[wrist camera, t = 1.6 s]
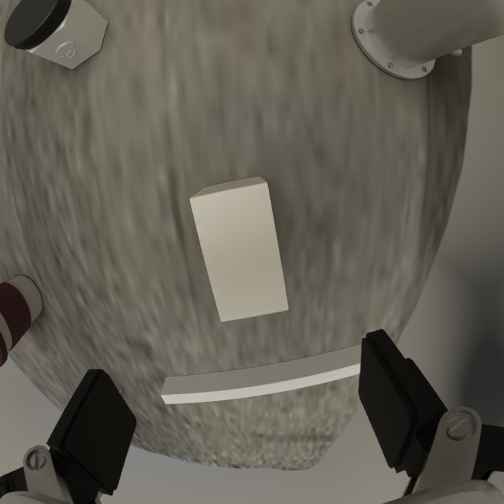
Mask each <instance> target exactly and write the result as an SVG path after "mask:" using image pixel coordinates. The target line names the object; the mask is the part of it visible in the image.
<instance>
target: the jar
mask: <svg viewBox="0 0 504 504" xmlns="http://www.w3.org/2000/svg"><path fill="white" fill-rule="evenodd" d="M107 24H108V21H107V20H106V19H104V18H103V17H102V16H101V15H100V14H99V13H98V12H97V11H96V10H94V9H93V8H92V7H91V6H90V5H89V4H88V3H87V2H85V1H84V0H22V1H21V2H20V3H19V4H18V5H17V7H16V8H15V9H14V11H13V12H12V14H11V16H10V18H9V20H8V22H7V25H6V28H5V34H4V37H5V41H6V43H7V44H8V45H11V46H13V47H15V48H17V49H22V50H27V51H28V52H30V53H33V54H35V55H38V56H40V57H43V58H45V59H48V60H50V61H53V62H55V63H58V64H60V65H62V66H65V67H67V68H69V69H72V70H73V69H74V68H76V67H77V66H78V65H80V64H81V63H82V62H84V61H85V60H87V59H88V58H89V57H91V56H92V55H94V54H95V53H97V52H98V51H100V49H101V45H102V41H103V38H104V34H105V31H106V28H107Z"/></svg>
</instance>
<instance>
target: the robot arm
mask: <svg viewBox="0 0 504 504" xmlns="http://www.w3.org/2000/svg"><path fill="white" fill-rule="evenodd" d="M351 26H352V31H353V35H354V37H355V39H356V41H357V44H358V45H359V47H360V48H361V50H362V51H363V52H364V54H365V55H366V56H367V57H368V58H369V59H370V60H371V61H372V62H373V63H374V64H375V65H376V66H378V67H379V68H381V69H382V70H383V71H385V72H387V73H389V74H390V75H392V76H395V77H398V78H401V79H407V80H415V79H418V78H421V77H424V76H426V75H427V74H428V73H430V72H431V70H432V69H433V67H434V64H435V61H436V58H439V57H441V56H444V55H446V54H451V55H455V56H461V54H462V48H465V47H468V46H470V45H473V44H476V43H479V42H482V41H485V40H488V39H492V38H495V37H498V36H501V35H504V0H365V1H363V2H362V3H360V4H359V5H358V6H357V8H356V9H355V10H354V12H353V14H352V19H351ZM358 392H359V397H360V400H361V402H362V404H363V407H364V409H365V411H366V413H367V416H368V418H369V421H370V423H371V425H372V428H373V430H374V432H375V435H376V437H377V439H378V442H379V444H380V447H381V449H382V451H383V454H384V456H385V459H386V461H387V464H388V466H389V467H390V468H393V467H394V468H395V470H396V473H399V472H401V471H404V470H406V473H407V475H408V477H410V479H409V481H408V484H407V486H406V488H405V490H404V492H403V495H402V497H401V498H398V499H396V500H393V501H389V502H386V503H384V504H504V495H503V494H502V493H504V427H499V426H492V425H485V424H481V419H480V417H479V415H478V414H477V413H476V412H475V411H474V410H472V409H470V408H466V407H456V408H453V409H450V410H449V411H448V410H447V408H446V407H445V405H444V404H443V402H442V401H441V400H440V398H439V396H438V395H437V393H436V392H435V391H434V389H433V388H432V386H431V385H430V384H429V382H428V381H427V379H426V378H425V377H424V375H423V374H422V373H421V371H420V370H419V368H418V367H417V366H416V364H415V363H414V362H413V360H412V359H410V358H407V359H405V358H404V357H403V355H402V354H401V352H400V351H399V350H398V348H397V347H396V346H395V344H394V343H393V341H392V340H391V339H390V337H389V336H388V335H387V333H386V332H385V331H384V330H383V329H380V330H376V331H373V332H369V333H367V334H366V338H363V339H362V344H361V363H360V377H359V389H358ZM135 428H136V418H135V416H134V415H133V413H132V412H131V410H130V409H129V407H128V406H127V404H126V402H125V401H124V399H123V398H122V396H121V395H120V393H119V391H118V390H117V388H116V386H115V385H114V383H113V381H112V380H111V378H110V376H109V375H108V374H107V373H105V371H104V370H102V369H90V370H88V371H87V373H86V374H85V376H84V378H83V379H82V381H81V383H80V384H79V386H78V388H77V389H76V391H75V393H74V394H73V396H72V398H71V399H70V401H69V403H68V405H67V406H66V408H65V410H64V412H63V414H62V415H61V417H60V419H59V421H58V423H57V425H56V426H55V428H54V430H53V432H52V434H51V436H50V438H49V439H48V442H47V444H48V446H49V447H50V450H48V449H47V448H46V447H44V446H40V445H38V446H34V447H32V448H30V449H29V450H28V451H27V452H26V454H25V456H24V459H23V467H21V468H19V469H17V470H15V471H12V472H10V473H8V474H5V475H3V476H1V477H0V504H101V502H100V500H99V498H98V491H99V492H100V493H102V494H107V495H111V496H112V495H113V491H114V490H116V489H117V486H118V483H119V480H120V476H121V472H122V469H123V466H124V462H125V459H126V456H127V452H128V450H129V446H130V443H131V440H132V437H133V434H134V431H135Z"/></svg>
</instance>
